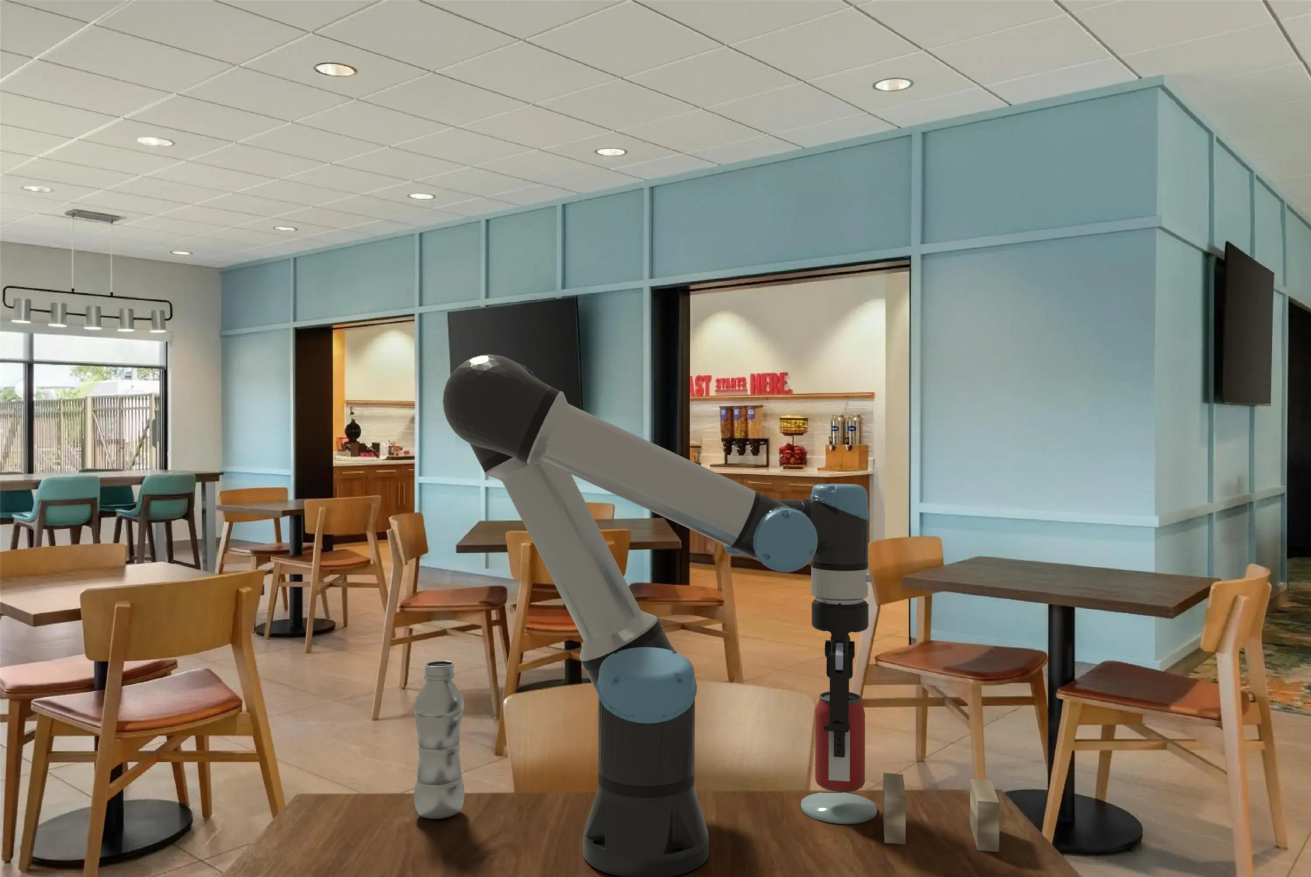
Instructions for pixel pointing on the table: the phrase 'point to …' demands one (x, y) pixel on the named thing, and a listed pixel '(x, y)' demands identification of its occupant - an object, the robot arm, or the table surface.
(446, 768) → the plastic bottle
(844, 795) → the coaster
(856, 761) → the beer can
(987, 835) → the block
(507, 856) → the table surface
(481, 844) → the table surface
